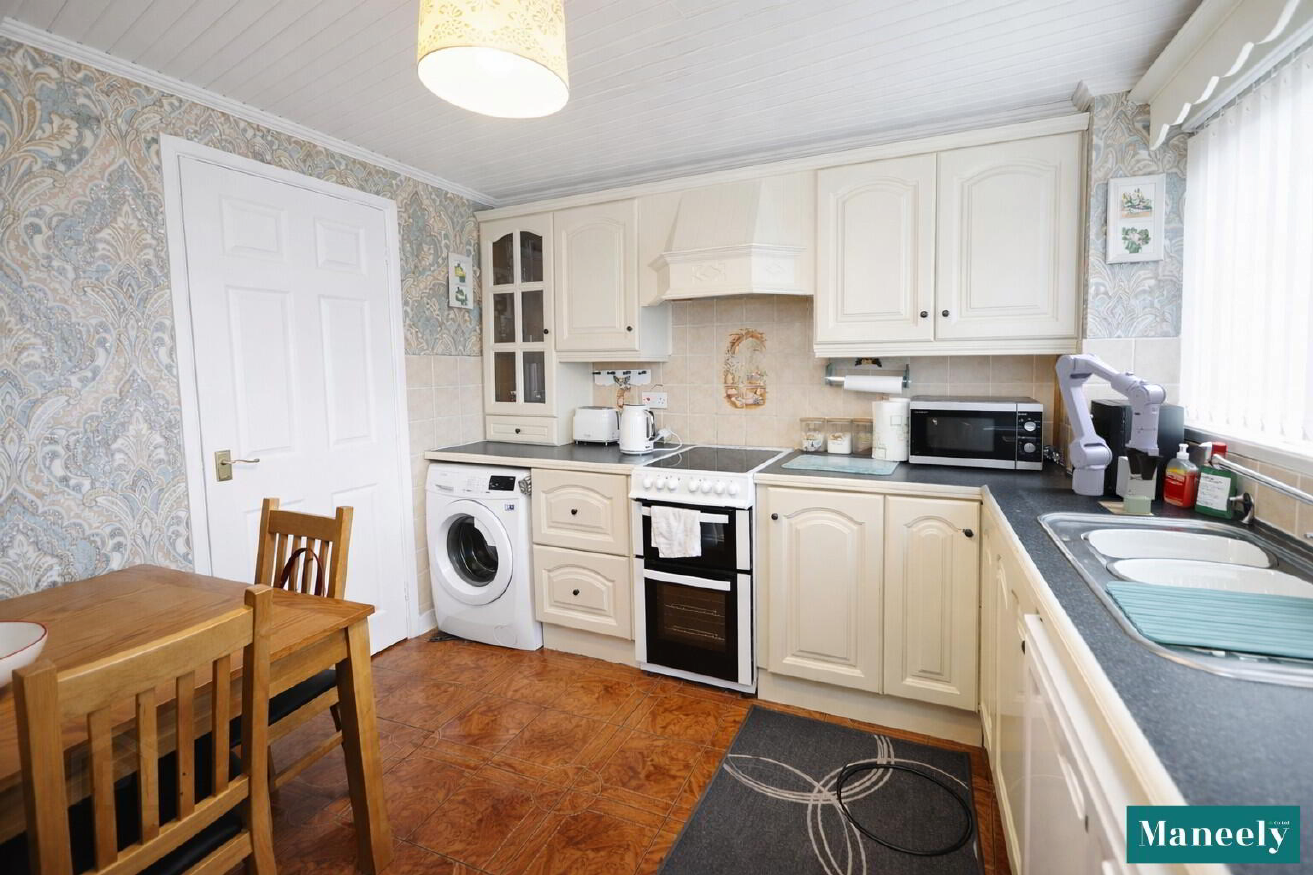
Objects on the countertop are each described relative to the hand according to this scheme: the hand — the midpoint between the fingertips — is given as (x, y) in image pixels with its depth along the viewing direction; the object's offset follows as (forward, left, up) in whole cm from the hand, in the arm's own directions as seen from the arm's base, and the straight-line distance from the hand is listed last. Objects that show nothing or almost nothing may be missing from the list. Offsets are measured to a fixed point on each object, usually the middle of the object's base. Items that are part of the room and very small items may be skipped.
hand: (1141, 477), depth 177 cm
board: (+4, -5, -9) cm, 11 cm away
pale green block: (+7, -3, -8) cm, 11 cm away
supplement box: (-12, +3, -10) cm, 16 cm away
